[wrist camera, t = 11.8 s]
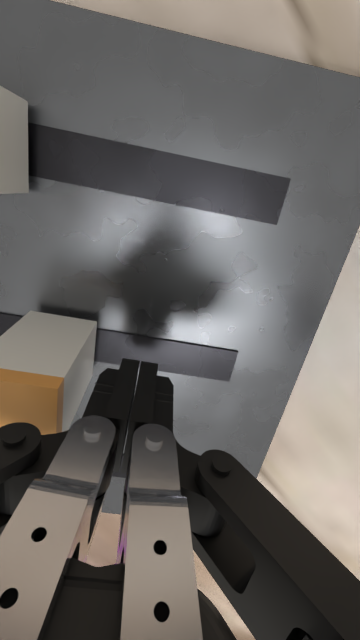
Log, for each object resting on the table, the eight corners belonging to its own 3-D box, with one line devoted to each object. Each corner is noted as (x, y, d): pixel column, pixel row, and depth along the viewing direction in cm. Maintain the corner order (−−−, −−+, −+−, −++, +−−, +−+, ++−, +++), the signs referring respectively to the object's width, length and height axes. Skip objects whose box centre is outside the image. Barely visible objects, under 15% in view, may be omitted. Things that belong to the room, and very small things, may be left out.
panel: (380, 104, 13) (416, 90, 11) (231, 499, 23) (236, 529, 21) (-125, -18, 11) (-187, -61, 9) (-49, 466, 21) (-72, 494, 19)
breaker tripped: (97, 321, 14) (57, 388, 9) (92, 375, 15) (55, 459, 11) (30, 310, 14) (-45, 374, 9) (31, 366, 15) (-35, 447, 10)
